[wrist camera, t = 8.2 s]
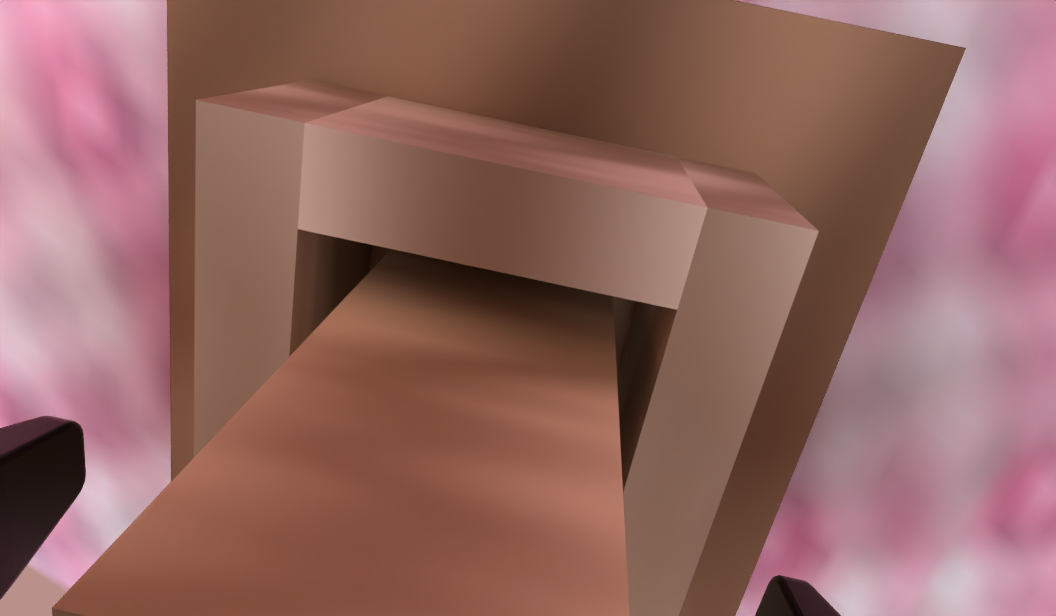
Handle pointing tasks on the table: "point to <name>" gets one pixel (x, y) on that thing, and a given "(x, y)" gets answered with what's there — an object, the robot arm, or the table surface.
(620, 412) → the well
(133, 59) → the table surface
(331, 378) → the peg
